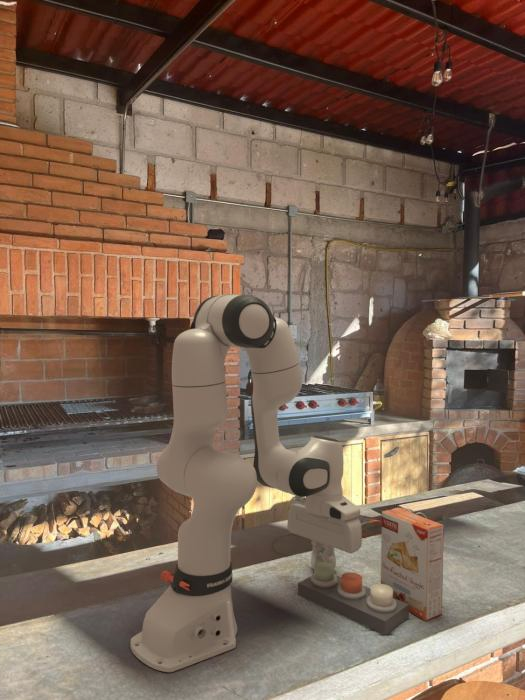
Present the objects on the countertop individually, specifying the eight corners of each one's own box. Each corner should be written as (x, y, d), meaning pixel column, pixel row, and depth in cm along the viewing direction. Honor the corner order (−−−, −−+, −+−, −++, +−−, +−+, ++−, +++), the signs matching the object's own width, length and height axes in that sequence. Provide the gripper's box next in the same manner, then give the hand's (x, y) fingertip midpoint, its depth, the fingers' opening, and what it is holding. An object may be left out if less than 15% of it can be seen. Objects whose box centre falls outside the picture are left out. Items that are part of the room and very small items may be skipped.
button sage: (325, 583, 126) (326, 572, 126) (310, 576, 129) (310, 566, 129) (338, 576, 130) (338, 566, 129) (322, 570, 133) (322, 560, 133)
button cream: (385, 608, 115) (385, 596, 115) (366, 600, 118) (366, 588, 118) (396, 600, 118) (397, 588, 118) (378, 592, 122) (378, 581, 122)
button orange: (354, 595, 121) (354, 583, 120) (336, 587, 124) (337, 576, 124) (366, 588, 124) (366, 577, 124) (349, 581, 127) (349, 570, 127)
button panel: (384, 635, 112) (385, 616, 112) (297, 595, 129) (298, 578, 129) (408, 617, 119) (409, 599, 119) (323, 581, 136) (323, 566, 136)
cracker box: (378, 596, 129) (380, 510, 128) (396, 589, 132) (398, 506, 132) (424, 622, 117) (426, 528, 117) (443, 615, 120) (445, 523, 120)
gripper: (283, 495, 134) (281, 550, 134) (350, 516, 120) (348, 577, 120) (299, 491, 138) (297, 544, 139) (366, 510, 124) (364, 569, 124)
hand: (321, 559), depth 129 cm, fingers closed
